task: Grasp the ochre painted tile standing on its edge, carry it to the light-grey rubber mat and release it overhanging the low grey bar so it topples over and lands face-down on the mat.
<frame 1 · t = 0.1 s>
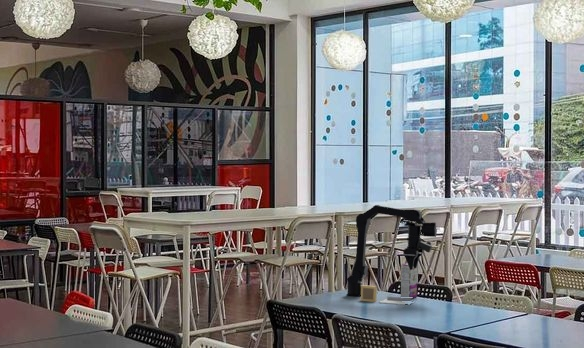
hand: (413, 268, 410), 15 cm above the table, fingers open, 9 cm apart
tile: (368, 301, 401), on the table
candy bar box: (408, 298, 418), on the table, touching gripper
mat: (397, 302, 399), on the table
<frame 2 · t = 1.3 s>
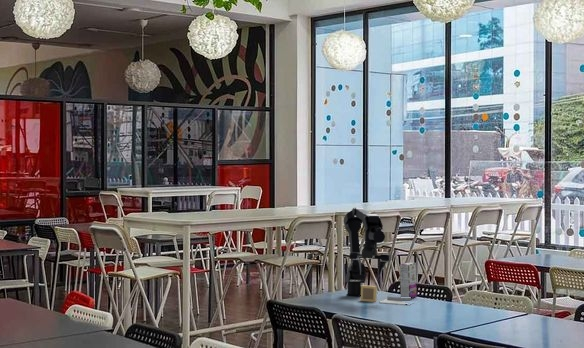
hand: (369, 275, 401), 12 cm above the table, fingers open, 9 cm apart
candy bar box: (408, 297, 418), on the table
everything else where it was.
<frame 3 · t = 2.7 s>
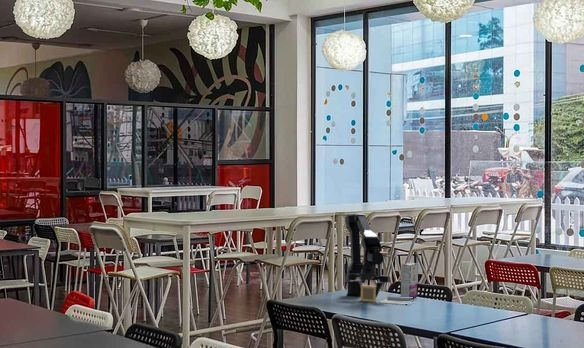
hand: (368, 296, 401), 2 cm above the table, fingers closed on tile, 7 cm apart
tile: (368, 301, 401), on the table, touching gripper
everything else where it was.
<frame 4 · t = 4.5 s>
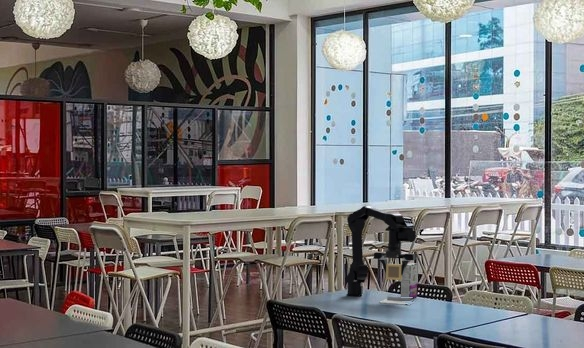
hand: (394, 274, 401), 12 cm above the table, fingers closed on tile, 7 cm apart
tile: (393, 279, 401), point 10 cm above the table, touching gripper
everything else where it was.
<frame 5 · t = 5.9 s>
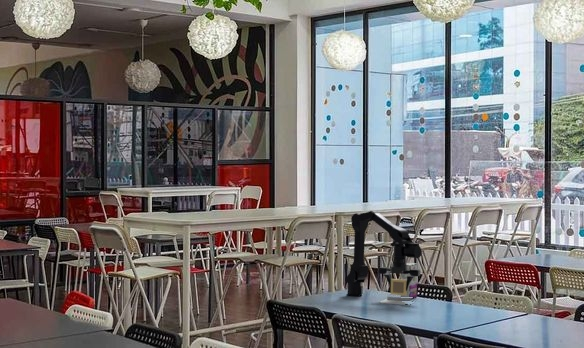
hand: (398, 290, 401), 5 cm above the table, fingers closed on tile, 7 cm apart
tile: (398, 294, 401), point 3 cm above the table, touching gripper
everything else where it was.
when the fingers open (5 cm above the table, at t = 6.5 s): tile drops 1 cm and tips over, resting on mat.
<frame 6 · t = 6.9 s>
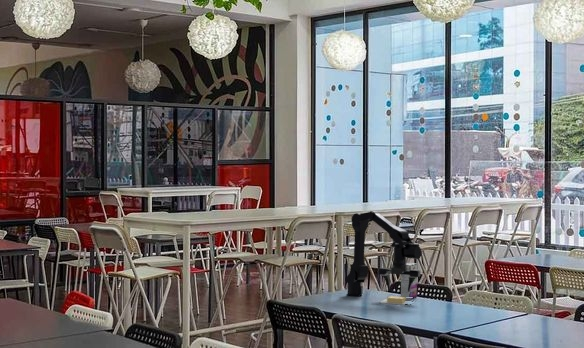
hand: (398, 291, 401), 5 cm above the table, fingers open, 9 cm apart
tile: (398, 298, 401), point 1 cm above the table, tilted 90°, touching mat
everything else where it was.
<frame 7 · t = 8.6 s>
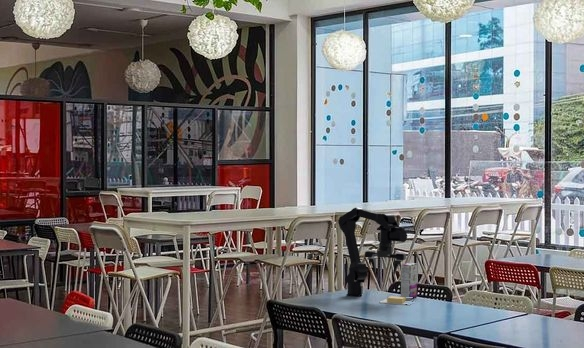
hand: (384, 273, 407), 12 cm above the table, fingers open, 9 cm apart
nothing on the table moved.
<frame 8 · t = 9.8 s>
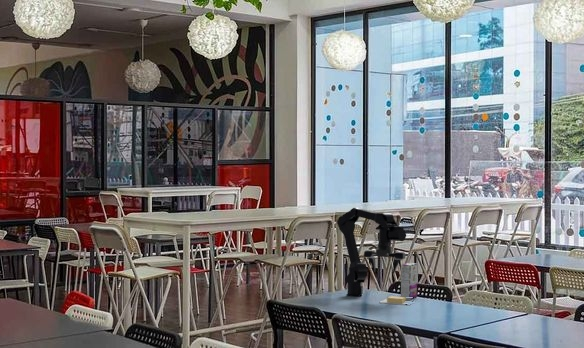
hand: (383, 273, 407), 13 cm above the table, fingers open, 9 cm apart
nothing on the table moved.
at the end: tile tilted 90°; tile inside the target area (2.3 cm from its centre), point 1.4 cm above the table; the gripper is holding nothing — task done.
